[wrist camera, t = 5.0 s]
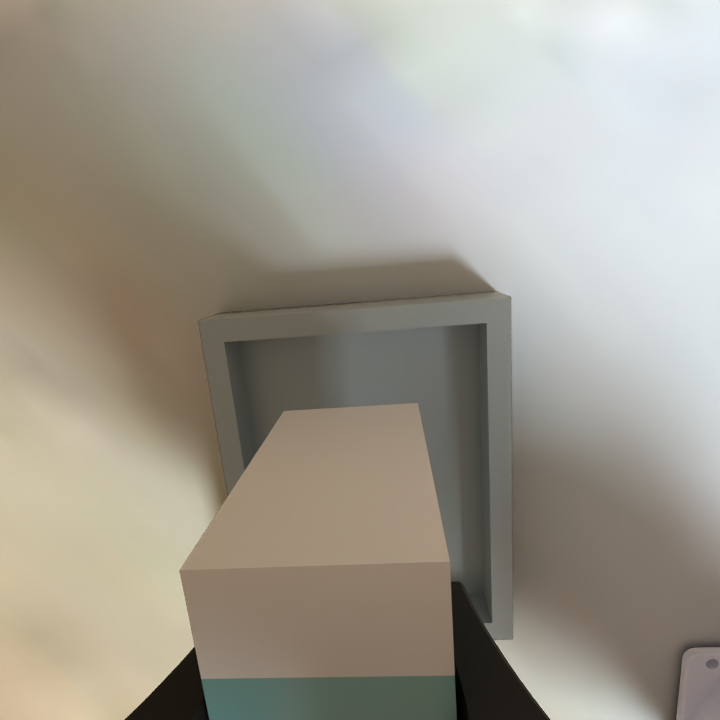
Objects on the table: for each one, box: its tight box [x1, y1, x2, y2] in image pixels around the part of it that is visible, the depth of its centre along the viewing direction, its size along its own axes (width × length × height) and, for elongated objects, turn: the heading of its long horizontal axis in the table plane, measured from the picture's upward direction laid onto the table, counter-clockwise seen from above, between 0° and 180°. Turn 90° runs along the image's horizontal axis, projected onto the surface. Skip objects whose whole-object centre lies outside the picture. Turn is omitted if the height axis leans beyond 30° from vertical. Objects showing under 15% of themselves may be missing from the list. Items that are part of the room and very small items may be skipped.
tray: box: [198, 291, 513, 640], centre depth 18 cm, size 11×14×2 cm
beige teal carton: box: [180, 403, 457, 720], centre depth 11 cm, size 4×9×7 cm, turn 5°
